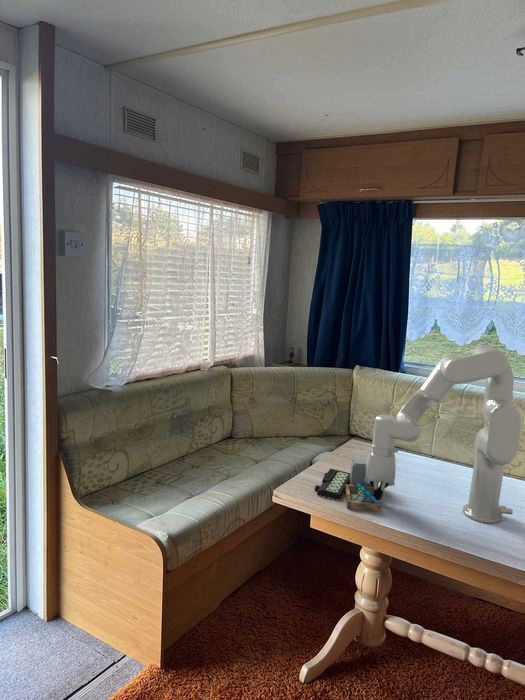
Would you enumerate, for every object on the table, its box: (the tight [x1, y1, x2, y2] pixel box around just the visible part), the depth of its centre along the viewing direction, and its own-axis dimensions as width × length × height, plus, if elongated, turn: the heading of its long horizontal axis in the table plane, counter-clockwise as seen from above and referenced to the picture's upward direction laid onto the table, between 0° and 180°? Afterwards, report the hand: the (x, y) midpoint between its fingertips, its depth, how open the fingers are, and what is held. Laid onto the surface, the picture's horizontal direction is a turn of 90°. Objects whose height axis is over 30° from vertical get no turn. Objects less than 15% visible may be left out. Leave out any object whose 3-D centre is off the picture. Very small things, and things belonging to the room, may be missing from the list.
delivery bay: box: [344, 484, 382, 513], centre depth 185 cm, size 12×14×3 cm
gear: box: [354, 483, 380, 504], centre depth 182 cm, size 11×6×10 cm
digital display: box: [314, 468, 350, 500], centre depth 196 cm, size 21×3×10 cm
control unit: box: [348, 457, 380, 487], centre depth 195 cm, size 10×7×11 cm
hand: (377, 498), depth 184 cm, fingers closed
